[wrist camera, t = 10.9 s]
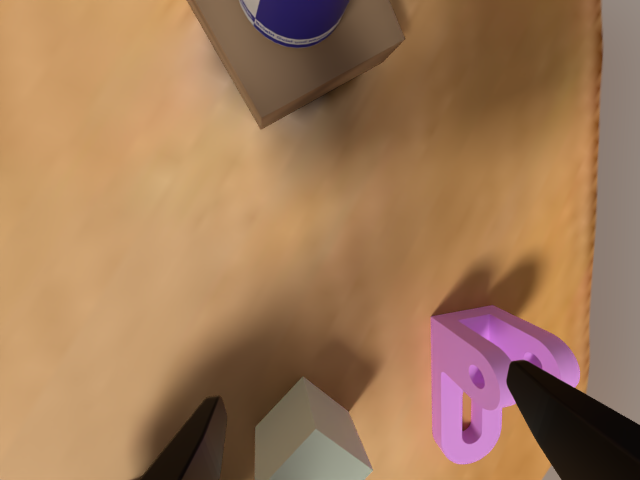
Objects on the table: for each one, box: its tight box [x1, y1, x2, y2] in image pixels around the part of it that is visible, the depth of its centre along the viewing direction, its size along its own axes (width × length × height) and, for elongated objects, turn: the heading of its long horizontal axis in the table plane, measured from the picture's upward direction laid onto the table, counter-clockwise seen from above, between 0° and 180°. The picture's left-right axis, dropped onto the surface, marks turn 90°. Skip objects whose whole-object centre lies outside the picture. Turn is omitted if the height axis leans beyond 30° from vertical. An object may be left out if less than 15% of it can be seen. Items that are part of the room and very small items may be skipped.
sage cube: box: [255, 377, 373, 480], centre depth 20 cm, size 5×5×5 cm
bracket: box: [431, 305, 580, 464], centre depth 21 cm, size 13×6×7 cm, turn 5°
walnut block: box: [187, 0, 405, 129], centre depth 16 cm, size 9×9×3 cm
